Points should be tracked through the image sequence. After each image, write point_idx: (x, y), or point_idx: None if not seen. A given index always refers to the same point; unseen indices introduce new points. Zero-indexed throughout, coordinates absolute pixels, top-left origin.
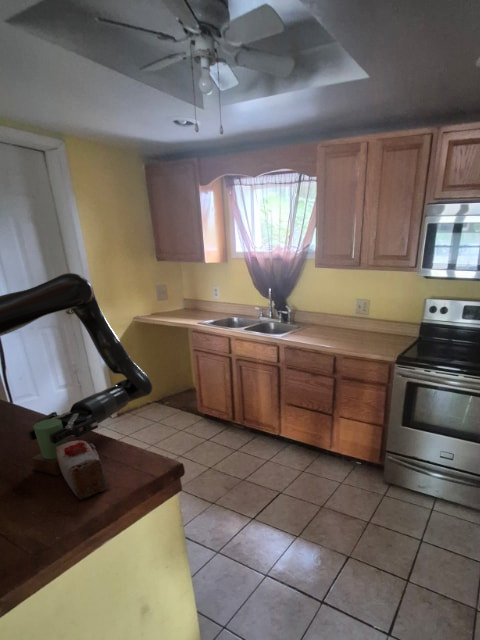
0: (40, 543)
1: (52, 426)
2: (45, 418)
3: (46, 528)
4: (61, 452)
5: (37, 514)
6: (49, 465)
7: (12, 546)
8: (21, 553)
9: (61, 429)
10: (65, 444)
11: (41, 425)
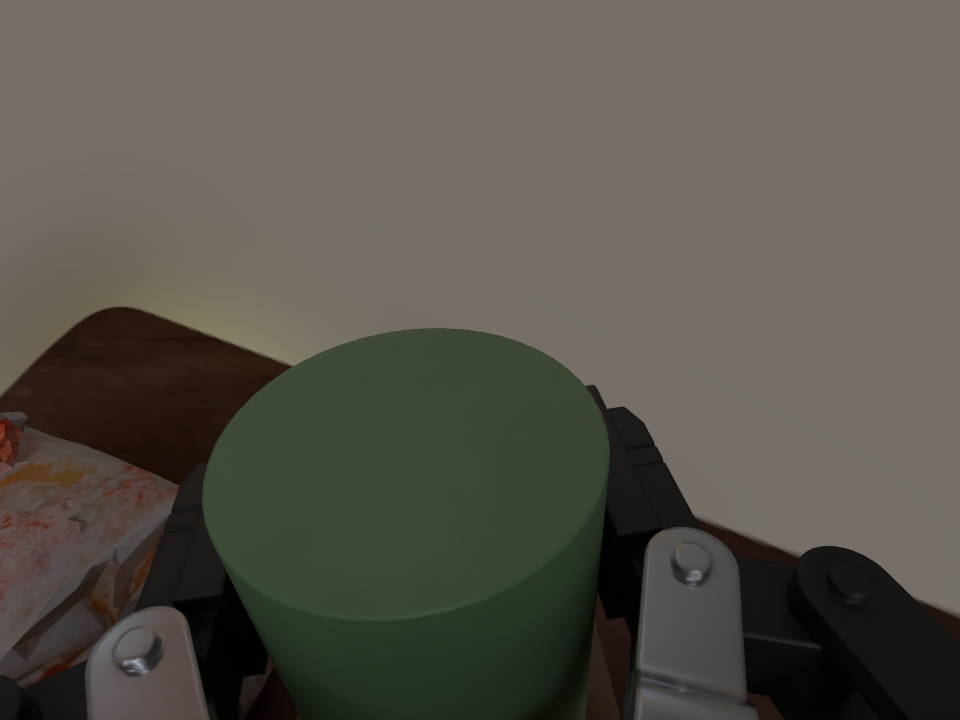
0: (79, 363)
1: (255, 420)
2: (950, 713)
3: (100, 398)
4: (86, 459)
5: (196, 420)
6: None
7: (173, 333)
8: (121, 332)
9: (213, 563)
10: (104, 533)
11: (444, 383)
